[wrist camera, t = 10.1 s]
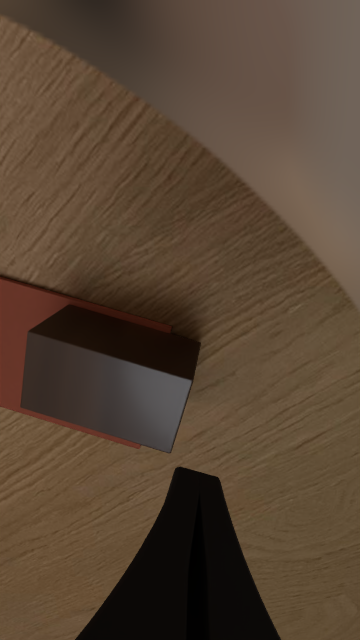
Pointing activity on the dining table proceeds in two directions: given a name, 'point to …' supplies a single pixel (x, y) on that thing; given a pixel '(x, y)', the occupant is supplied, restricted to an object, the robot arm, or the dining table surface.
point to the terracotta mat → (11, 337)
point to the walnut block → (109, 375)
